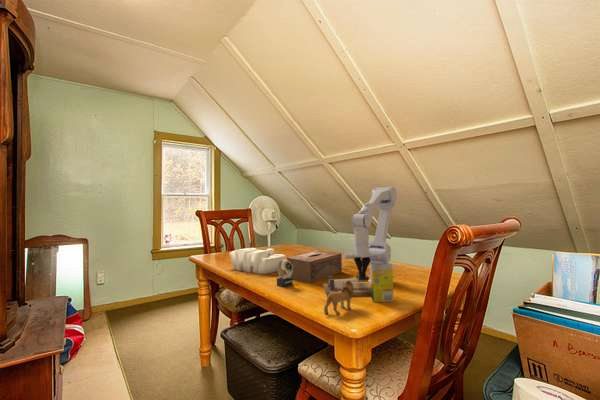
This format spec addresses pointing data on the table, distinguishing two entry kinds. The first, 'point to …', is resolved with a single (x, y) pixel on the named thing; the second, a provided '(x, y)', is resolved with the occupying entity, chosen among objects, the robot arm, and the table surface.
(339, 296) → the lion figurine
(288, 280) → the watch
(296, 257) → the tissue box cover
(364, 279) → the lever
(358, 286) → the base
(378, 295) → the crayon box
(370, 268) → the robot arm
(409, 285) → the table surface
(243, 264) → the wavy white extrusion
